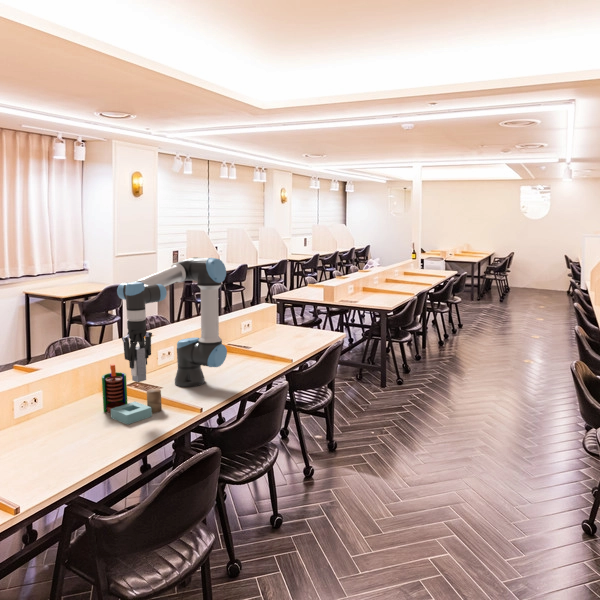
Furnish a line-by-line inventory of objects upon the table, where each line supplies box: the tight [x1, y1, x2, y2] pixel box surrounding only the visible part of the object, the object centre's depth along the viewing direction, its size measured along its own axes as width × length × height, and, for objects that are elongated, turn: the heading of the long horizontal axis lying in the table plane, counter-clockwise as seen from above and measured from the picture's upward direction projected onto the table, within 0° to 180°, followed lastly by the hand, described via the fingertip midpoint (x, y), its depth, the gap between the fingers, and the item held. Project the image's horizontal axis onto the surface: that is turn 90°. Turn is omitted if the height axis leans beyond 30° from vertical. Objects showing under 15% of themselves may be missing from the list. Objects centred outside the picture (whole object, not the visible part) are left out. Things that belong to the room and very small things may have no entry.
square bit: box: [131, 345, 147, 383], centre depth 225 cm, size 4×4×14 cm
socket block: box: [110, 401, 153, 425], centre depth 228 cm, size 12×12×4 cm
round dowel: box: [146, 388, 163, 414], centre depth 235 cm, size 6×6×9 cm
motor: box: [101, 363, 128, 414], centre depth 236 cm, size 10×9×20 cm
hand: (138, 374), depth 225 cm, fingers closed on square bit, 4 cm apart
